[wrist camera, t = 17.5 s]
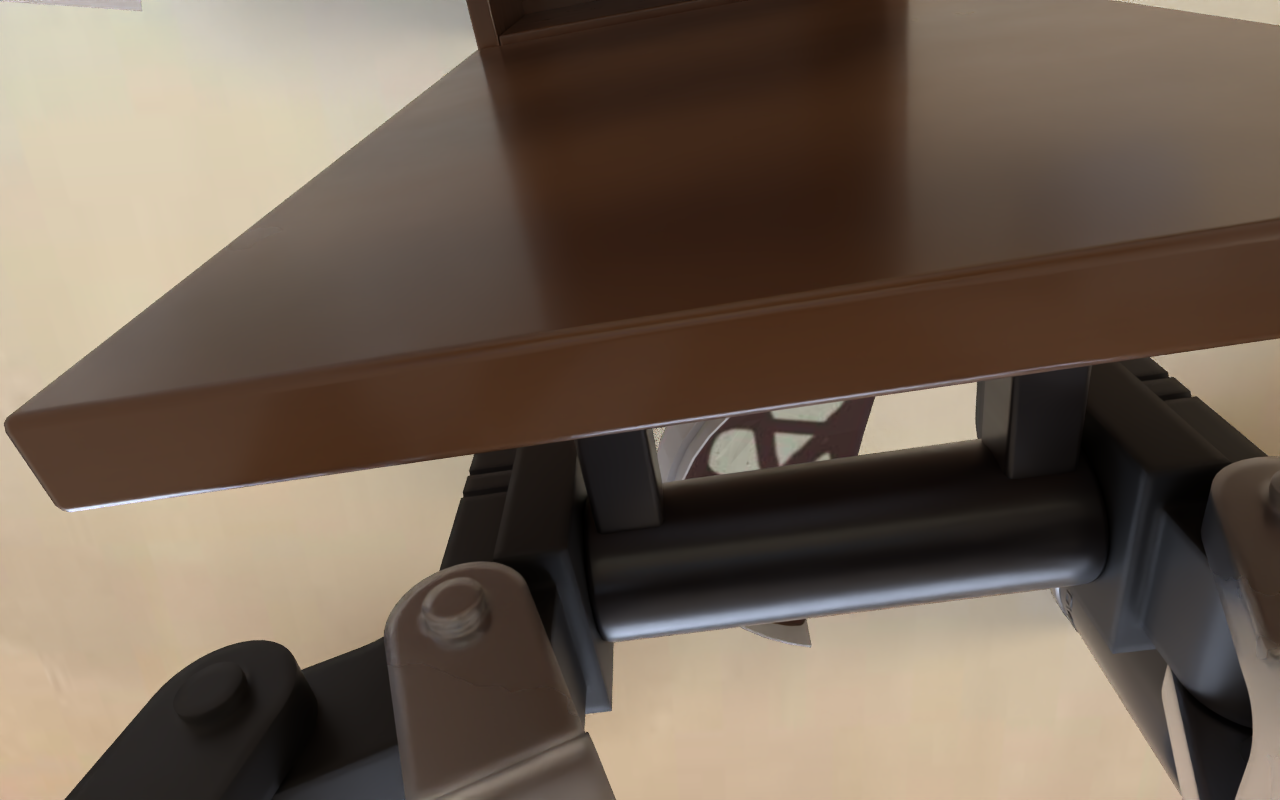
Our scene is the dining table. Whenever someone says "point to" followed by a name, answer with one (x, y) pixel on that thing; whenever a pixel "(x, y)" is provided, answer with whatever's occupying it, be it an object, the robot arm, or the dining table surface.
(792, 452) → the food container
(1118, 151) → the chest lid
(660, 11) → the chest
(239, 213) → the dining table surface
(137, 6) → the spiral staircase
